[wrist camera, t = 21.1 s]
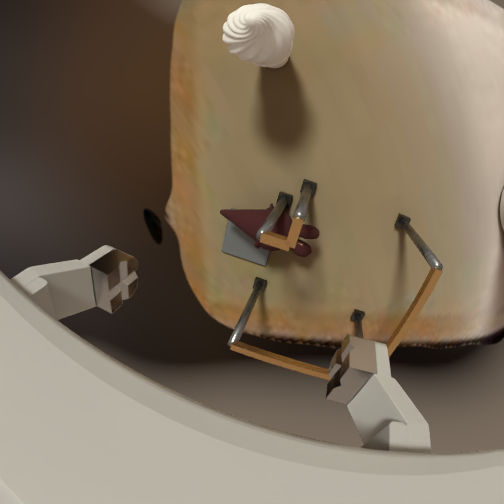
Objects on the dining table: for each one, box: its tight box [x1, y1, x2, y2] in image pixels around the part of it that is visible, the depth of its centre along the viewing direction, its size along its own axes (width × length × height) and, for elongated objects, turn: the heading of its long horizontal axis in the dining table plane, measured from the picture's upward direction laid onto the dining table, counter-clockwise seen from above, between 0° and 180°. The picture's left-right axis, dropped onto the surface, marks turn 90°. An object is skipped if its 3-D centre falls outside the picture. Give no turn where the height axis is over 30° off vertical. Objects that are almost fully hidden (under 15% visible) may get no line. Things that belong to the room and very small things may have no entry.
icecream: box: [220, 204, 319, 257], centre depth 41 cm, size 7×7×15 cm
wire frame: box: [228, 179, 443, 380], centre depth 37 cm, size 21×21×17 cm
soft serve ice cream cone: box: [223, 3, 295, 68], centre depth 26 cm, size 8×8×16 cm
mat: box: [222, 208, 270, 266], centre depth 46 cm, size 8×8×1 cm
